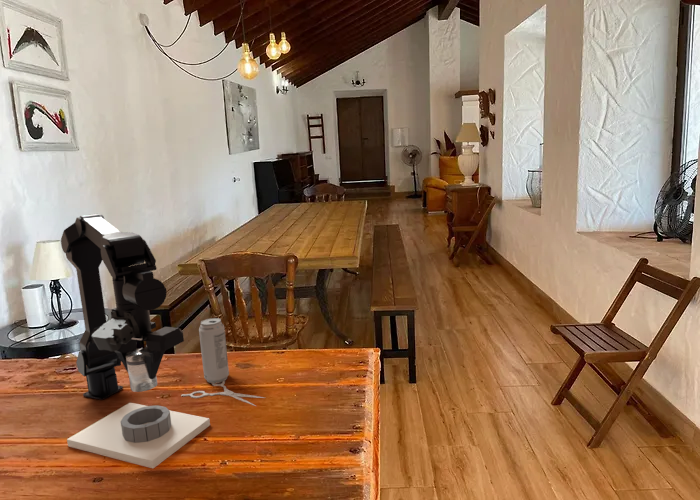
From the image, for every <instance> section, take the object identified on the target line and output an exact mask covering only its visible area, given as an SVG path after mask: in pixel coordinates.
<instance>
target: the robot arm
mask: <svg viewBox="0 0 700 500" xmlns="http://www.w3.org/2000/svg"><path fill="white" fill-rule="evenodd" d="M60 245H61V248H62V251H63V253H64V254H65V257H66V259H67V261H69V263H70V264H71V265H72V266H73V267H74V268H75V270H76V276H77V282H78V283H77V284H78V288H79V295H80V303H81V310H82V315H83V316H82V317H83V323H84V328H85V329H84V333H82V336H81V338H80V341H79V349H80V350H79V351H78V355H77V359H76V362H75V363H76V368H77V371H78V373H80V374H81V375H82V376H83V377H86V379H85V380H86V384H87V391H86V392H84V393H82V396H83V397H86V398H91V399H95V400H101V401H102V400H104V399H107V398H109V397H110V396H111V395H113V394H116V393H118V392H119V391H121V390H123V389H124V386H123V385H119V384H118V383H119V382H118V378H117V377H118V376H117V374H116V367H120V366H121V365H123V367H124V368H125V370H126V372H127V373H128V367H127V364H126V354H127V353H128V352H130V351H133V350H136V349H138V348H137V346H138V345H137V344H138V342H139V341H140V342H145V343H146V344H145V347H144V348H143V347H142V348H143V349H142V348H140V349H141V350H139V352H141V353H142V354H143V355H145V358H146V363H147V369H148V373H149V377H150V379H154V378H155V377H157V374H158V372H159V368H160V365H161V363H162V359H163V357H164V355H165V352H166V351H167V350H169V349H171V348H173V347H175V346H178V345H179V344H181V343H183V342H184V341H185V340H184V331H183V330H182V329H181V328H179V327H172V326H164V327H161V328H159V329H156V328H157V323H156V322H155V321H152V320H151V313H150V311H154V310H156V309H158V308H160V307H161V306H162V305H163V304H164V303H165V300H166V299H167V288H166V287H165V284H163V283H164V282H162V281H161V280H159V279H157V278H154V272H153V271H157V265H156V263H157V260H156V258H155V256H154V254H153V252H152V250H151V248H150V247H149V245H148V243H147V241H146V240H145V239H144V238H143V237H142V236H141V235H140V234H137V233H134V232H128V231H127V232H123V231H120V230H119V229H118V228H117V227H116V226H114V225H113V224H111V223H110V222H109V221H107V220H106V219H105V217H104V215H103V214H98V213H94V214H86V215H80V216H79V217H76V219H75V221H74V223H72V224H70V225H69V226H67V227H66V228H65V229H64V230H63V232H62V234H61V239H60ZM102 262H103V264H104V265H105V268H106V269H107V271H108V272H109V274H110V276H111V278H112V280H111V281H112V286H113V295H114V300H115V306H116V307H114V308H111V311H110V315H111V316H110V319H109V320H107V317H106V309H105V303H104V295H103V288H102V281H101V274H100V273H101V272H100V266H101V265H102ZM153 329H156V330H154V331H152V330H153Z"/></svg>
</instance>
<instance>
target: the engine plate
mask: <svg viewBox="0 0 700 500" xmlns="http://www.w3.org/2000/svg"><path fill="white" fill-rule="evenodd" d="M210 422H211V420H210V418H209V417H204V416H201V415H200V416H198V415H193V414H189V413H185V412H180V411H174V410H170V409H169V408H168V407H166V406H162V405H144V404H139V403H135V402H128V403H127V404H125V405H123V406H121V407H120V408H117V410H115V411H113V412H111V413H109V414H107V416H106V415H105V417H102V418H101V419H99V420H98V421H97V420H96V422H94V423H92V424H90V425H89V426H87V427H86V428H84V429H82V430H81V431H80V430H79V432H77V433H75V434H74V435H71V436H70V437H67V439H66V442H67V446H68V447H70V448H73V449H78V450H80V451H85V452H88V453H91V454H95V455H101V456H105V457H107V458H111V459H114V460H115V459H116V460H118V461H119V460H120V461H123V462H126V463H130V464H135V465H139V466H140V467H141V466H142V467H146V468H150V469H154V468H156V467H157V466H159V465H160V464H161V463H162V462H164V461H165V460H167V458H170V456H172V455H173V454H175V452H177V451H179V449H181V448H183V446H185V445H186V444H188V443H189V442H190V441H191V440H193V439H194V438H195V437H196V436H198V435H199V434H200V433H202V432H203V431H204V430H206V429H207V428H208V427H210V426H211V423H210Z"/></svg>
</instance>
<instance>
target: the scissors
mask: <svg viewBox="0 0 700 500" xmlns="http://www.w3.org/2000/svg"><path fill="white" fill-rule="evenodd" d="M211 384H212V386H214V387H221V388H223V391H222V392H213V393H209V392H205V390H197V391H193V392H191V393H186V394H184V393H183V394H181V395H180V396H181V397H182V396H183V397H190V398H191V399H199V398H200V399H201V398H203V397H207V396H210V397H212V396H213V397H214V396H217V395H219V396H220V395H221V396H225V397H226V396H227V397H232V398H234V399H236V400H238V401H241V402H243V403H246V404H249V405H251V406H253V407H257V405H255V404H254V403H253V402H250V401H248V400H246V399H243V398H257V399H258V398H260V399H265V397H263V396H259V395H252V394H251V395H250V394H243V393H239V392H238V393H237V392H234V391H232V390H230V389H228V388H227V386H226V385H225V384H226V380H225V381H224V380H223V382H220V383H211ZM196 394H200V395H196Z"/></svg>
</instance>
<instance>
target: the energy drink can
mask: <svg viewBox="0 0 700 500" xmlns="http://www.w3.org/2000/svg"><path fill="white" fill-rule="evenodd" d="M225 330H226V329H225V325H224V324H223V323H222V319H221V318H218V317H214V318H212V317H211V318H206V319H203V320H201V321H200V326H199V328H198V334H199V343H200V352H201V361H202V362H201V363H202V370H203V371H202V372H203V378H204V379H205V380H206V382H207V383H208V384H212V383H215V384H221V383H223V380H224V381H225V382H226V380H227V379H228V376H229V375H230V370H229V359H228V350H227V340H226V331H225Z"/></svg>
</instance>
